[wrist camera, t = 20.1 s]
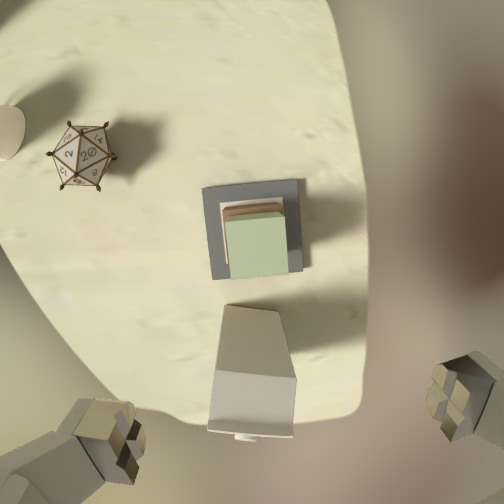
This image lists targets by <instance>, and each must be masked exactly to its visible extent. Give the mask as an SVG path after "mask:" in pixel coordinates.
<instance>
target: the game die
mask: <svg viewBox="0 0 504 504" xmlns="http://www.w3.org/2000/svg"><path fill="white" fill-rule="evenodd" d="M67 124H68V126H69V128H68V130H67V131H66V133H65V134H64V136H63V137H62V139H61V140H60V142H59V143H58V145H57V146H56V148H55V150H54V151H53V152H47V153H46V155H47V156H53V159H54V162H55V165H56V167H57V170H58V173H59V175H60V178H61V180H62V183H63V184H62V185H61V186H60V190H62V189H63V188H64V185H83V186H96V189H97V190H98V191H99V192H100V191H101V188H100V186H99V185H98V184H99V182H100V180H101V178H102V176H103V175H104V173H105V171H106V169H107V167H108V165H109V163H110V161H111V160H112V159H113V160H116V159H117V157H116V155H115V154H114V153H113V154H112V153H111V150H110V146H109V142H108V138H107V134H106V130H105V128H106V127H107V126H108V124H109V121H108V122H106V123H105V124H104V126H103V127H98V126H71V121H69V120H68V122H67Z"/></svg>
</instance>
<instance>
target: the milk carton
mask: <svg viewBox="0 0 504 504" xmlns="http://www.w3.org/2000/svg"><path fill="white" fill-rule="evenodd" d="M296 381H297V378H296V375H295V371H294V368H293V364H292V360H291V356H290V352H289V349H288V345H287V341H286V337H285V333H284V330H283V326H282V322H281V318H280V315H279V312H277V311H269V310H261V309H253V308H246V307H238V306H231V305H224V309H223V316H222V323H221V329H220V336H219V343H218V350H217V356H216V363H215V370H214V378H213V386H212V394H211V402H210V410H209V418H208V426H207V430H208V431H212V432H219V433H228V434H235V439H236V440H242V441H258V437H259V436H262V437H281V438H293V437H294V434H293V417H294V406H295V394H296Z"/></svg>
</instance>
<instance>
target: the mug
mask: <svg viewBox="0 0 504 504" xmlns="http://www.w3.org/2000/svg"><path fill="white" fill-rule="evenodd" d="M25 129H26V122H25V117H24V114H23V112H22V111H21V110H20V109H19V108H17V107H7V106H3V105H0V160H1V161H5V160H8V159H10V158H12V157H13V156H14V155H15V154H16V153H17V151H18V150H19V148H20V146H21V144H22V142H23V139H24V135H25Z"/></svg>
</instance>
